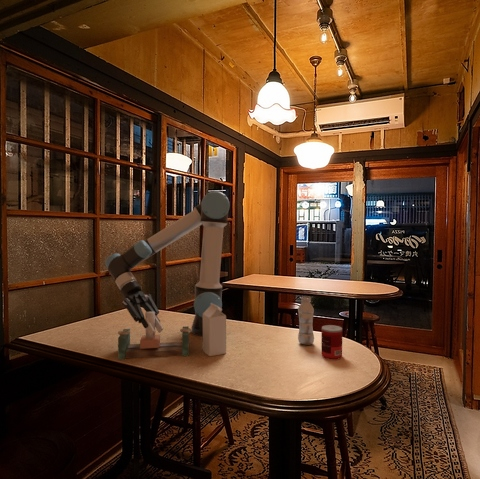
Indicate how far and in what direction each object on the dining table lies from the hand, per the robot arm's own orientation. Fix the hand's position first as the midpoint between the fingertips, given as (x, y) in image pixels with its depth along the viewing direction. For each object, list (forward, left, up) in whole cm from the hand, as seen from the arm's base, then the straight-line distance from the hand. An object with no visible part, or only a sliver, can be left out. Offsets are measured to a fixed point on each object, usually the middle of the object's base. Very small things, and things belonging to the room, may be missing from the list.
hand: (157, 332), depth 136 cm
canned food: (-66, +12, -9) cm, 68 cm away
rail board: (+1, -3, -9) cm, 9 cm away
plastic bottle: (-61, -3, -9) cm, 62 cm away
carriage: (+3, -3, -6) cm, 7 cm away
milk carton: (-22, +1, -9) cm, 24 cm away
